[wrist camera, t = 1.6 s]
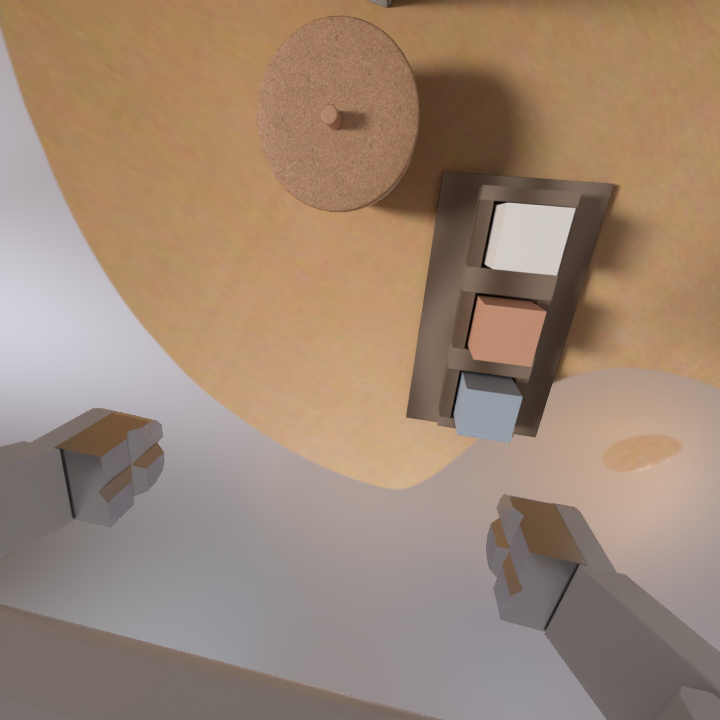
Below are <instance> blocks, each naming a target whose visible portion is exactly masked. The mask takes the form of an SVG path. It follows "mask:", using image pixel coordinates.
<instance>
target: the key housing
mask: <svg viewBox="0 0 720 720" xmlns="http://www.w3.org/2000/svg"><path fill="white" fill-rule="evenodd" d="M613 186H614V184H608V183H595V182H581V181H567V180H553V179H540V178H526V177H512V176H498V175H485V174H471V173H457V172H443V176H442V183H441V189H440V196H439V203H438V209H437V216H436V223H435V229H434V236H433V242H432V249H431V256H430V262H429V269H428V276H427V282H426V289H425V295H424V302H423V309H422V315H421V322H420V329H419V335H418V342H417V348H416V355H415V362H414V368H413V375H412V382H411V388H410V395H409V402H408V408H407V415H406V417H407V418H414V419H420V420H427V421H433V422H438V426H444V427H451V428H456V425H455V419H454V414H453V411H454V406H455V401H456V396H457V392H458V387H459V382H460V377H461V372H462V371H469V372H477V373H484V374H491V375H499V376H506V377H511V378H512V379H513V381H514V383H515V384H516V386H517V388H518V390H519V391H520V393H521V395H522V396H523V398H522V401H521V405H520V409H519V412H518V416H517V419H516V423H515V426H514V430H513V433H512V437H513V435H514V434H518V435H524V436H531V437H536V434H537V431H538V428H539V425H540V421H541V418H542V415H543V412H544V408H545V405H546V402H547V399H548V396H549V392H550V389H551V386H552V383H553V379H554V376H555V373H556V370H557V366H558V363H559V360H560V357H561V354H562V350H563V347H564V344H565V341H566V337H567V334H568V331H569V328H570V324H571V321H572V318H573V315H574V312H575V308H576V305H577V302H578V299H579V295H580V292H581V289H582V286H583V283H584V279H585V276H586V273H587V270H588V266H589V263H590V260H591V257H592V253H593V250H594V247H595V244H596V241H597V237H598V234H599V231H600V228H601V224H602V221H603V218H604V215H605V211H606V208H607V205H608V202H609V199H610V195H611V192H612V189H613ZM504 203H518V204H531V205H543V206H555V207H568V208H576V209H575V213H574V216H573V220H572V223H571V227H570V230H569V234H568V238H567V241H566V245H565V248H564V252H563V255H562V259H561V262H560V266H559V270H558V273H557V276H555V275H546V274H536V273H526V272H516V271H507V270H497V269H492V268H490V267H489V266H487V265H485V264H484V260H485V255H486V250H487V245H488V240H489V235H490V230H491V226H492V221H493V216H494V211H495V206H496V205H500V204H504ZM477 295H482V296H491V297H500V298H509V299H518V300H527V301H532V302H533V303H535V304H536V305H538V306H539V307H541V308H542V309H544V310H545V311H546V316H545V319H544V323H543V327H542V330H541V334H540V337H539V341H538V344H537V348H536V352H535V355H534V359H533V362H532V366H531V367H528V366H520V365H512V364H505V363H497V362H490V361H482V360H475V359H473V357H472V355H471V352H470V350H469V347H468V344H467V343H468V338H469V333H470V328H471V323H472V318H473V313H474V309H475V304H476V299H477Z"/></svg>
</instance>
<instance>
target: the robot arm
mask: <svg viewBox="0 0 720 720" xmlns="http://www.w3.org/2000/svg"><path fill="white" fill-rule="evenodd" d="M162 437H163V432H162V425H161V424H160V423H159V422H157V421H156V420H152V419H147V418H143V417H139V416H135V415H130V414H126V413H122V412H117V411H112V410H108V409H103V408H93V409H91V410H89V411H87V412H85V413H83V414H82V415H80V416H78V417H76V418H74V419H73V420H71V421H69V422H67V423H65V424H64V425H62V426H60V427H58V428H56V429H54V430H53V431H51V432H49V433H47V434H45V435H44V436H42V437H40V438H38V439H36V440H34V441H33V442H31V443H30V442H24V441H23V442H19V443H15V444H11V445H6V446H2V447H0V557H2V556H4V555H7V554H9V553H11V552H13V551H15V550H17V549H19V548H20V547H23V546H25V545H27V544H29V543H31V542H33V541H35V540H37V539H39V538H41V537H43V536H45V535H47V534H49V533H51V532H53V531H55V530H57V529H59V528H61V527H63V526H65V525H67V524H69V523H71V522H73V519H74V520H79V521H84V522H89V523H94V524H98V525H104V526H108V527H111V526H112V525H113V524H114V523H115V522H116V521H117V520H118V519H119V518H121V516H123V515H124V514H125V513H126V512H127V511H128V509H130V508H131V507H132V506H133V505H134V496H136V495H139V494H141V493H144V492H146V491H148V490H149V489H150V488H151V487H152V486H153V485H154V484H155V483H156V481H157V479H158V478H159V476H160V474H161V472H162V470H163V465H164V452H163V450H162V449H161V447H160V446H159V444H158V442H159V441H160V439H161V438H162ZM497 510H498V514H499V517H500V518H499V519H497V520H496V521H494V522H493V523H491V525H490V528H489V532H488V535H487V544H486V553H487V561H488V566H489V569H490V570H491V571H492V572H493V574H494V575H495V576H496V577H497V580H496V582H495V585H494V593H495V597H496V601H497V606H498V610H499V614H500V618H501V620H504V621H507V622H511V623H515V624H518V625H522V626H526V627H530V628H534V629H537V630H541V631H545V635H546V636H547V638H548V639H549V641H550V642H551V643H552V645H553V646H554V648H555V649H556V650H557V651H558V653H559V655H560V656H561V657H562V659H563V660H564V661H565V663H566V664H567V666H568V667H569V668H570V670H571V671H572V673H573V674H574V675H575V677H576V678H577V679H578V681H579V682H580V684H581V685H582V686H583V688H584V689H585V690H586V692H587V693H588V695H589V696H590V697H591V699H592V700H593V701H594V703H595V704H596V705H597V707H598V708H599V710H600V711H601V712H602V714H603V715H604V717H605V718H606V719H607V720H720V652H719V651H718V650H717V649H716V648H714V647H713V646H712V645H711V644H709V643H708V642H707V641H706V640H705V639H703V638H702V637H701V636H700V635H698V634H697V633H696V632H695V631H693V630H692V629H691V628H690V627H689V626H687V625H686V624H685V623H684V622H682V621H681V620H680V619H679V618H678V617H676V616H675V615H674V614H673V613H671V612H670V611H669V610H668V609H667V608H665V607H664V606H663V605H661V604H660V603H659V602H658V601H657V600H655V599H654V598H653V597H652V596H651V595H649V594H648V593H647V592H646V591H645V590H643V589H642V588H641V587H640V586H638V585H637V584H636V583H635V582H634V581H632V580H631V579H630V578H629V577H627V576H626V575H624V574H620V573H617V572H616V570H615V569H614V567H613V565H612V564H611V562H610V560H609V559H608V557H607V555H606V554H605V552H604V550H603V549H602V547H601V545H600V544H599V542H598V540H597V539H596V537H595V535H594V534H593V532H592V531H591V529H590V527H589V525H588V524H587V522H586V521H585V519H584V517H583V515H582V514H581V512H580V511H579V510H578V509H576V508H575V507H570V506H565V505H560V504H554V503H550V504H549V503H545V502H540V501H535V500H530V499H526V498H520V497H515V496H511V495H506V494H504V495H503V496H502V497H501V499H500V501H499V503H498V506H497ZM0 720H442V719H437V718H434V717H430V716H426V715H423V714H419V713H415V712H411V711H407V710H403V709H400V708H396V707H392V706H388V705H384V704H381V703H377V702H372V701H369V700H365V699H361V698H358V697H354V696H350V695H346V694H342V693H338V692H335V691H331V690H327V689H323V688H319V687H316V686H311V685H308V684H304V683H300V682H296V681H293V680H289V679H285V678H281V677H277V676H273V675H270V674H266V673H262V672H258V671H255V670H251V669H247V668H243V667H239V666H236V665H232V664H227V663H224V662H220V661H216V660H212V659H208V658H205V657H201V656H197V655H194V654H190V653H186V652H182V651H178V650H174V649H171V648H167V647H163V646H159V645H156V644H152V643H148V642H144V641H140V640H136V639H133V638H129V637H125V636H121V635H117V634H114V633H110V632H106V631H102V630H98V629H95V628H91V627H87V626H83V625H79V624H76V623H72V622H68V621H64V620H60V619H56V618H52V617H49V616H45V615H41V614H37V613H34V612H29V611H26V610H22V609H18V608H15V607H11V606H7V605H3V604H0Z"/></svg>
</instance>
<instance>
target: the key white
mask: <svg viewBox="0 0 720 720" xmlns="http://www.w3.org/2000/svg"><path fill="white" fill-rule="evenodd" d="M575 209H576V208H568V207H555V206H543V205H531V204H518V203H504V204H500V205H496V206H495V211H494V216H493V221H492V226H491V230H490V235H489V240H488V245H487V250H486V255H485V260H484V264H485V265H487V266H489V267H490V268H492V269H497V270H507V271H516V272H526V273H536V274H546V275H555V276H557V273H558V270H559V266H560V262H561V259H562V255H563V252H564V248H565V245H566V241H567V238H568V234H569V230H570V227H571V223H572V220H573V216H574V213H575Z"/></svg>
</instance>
